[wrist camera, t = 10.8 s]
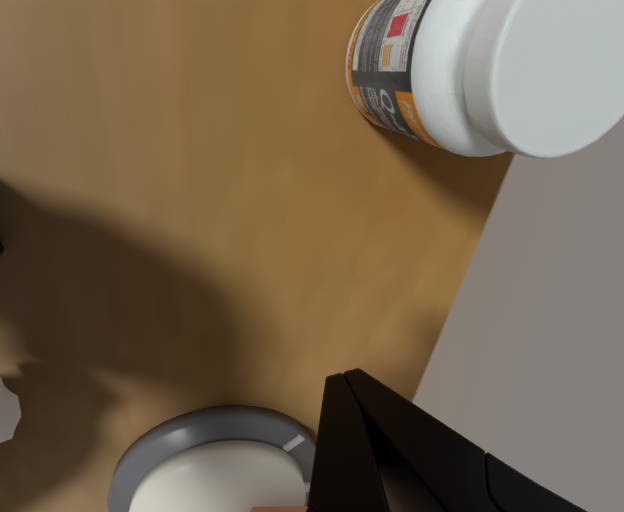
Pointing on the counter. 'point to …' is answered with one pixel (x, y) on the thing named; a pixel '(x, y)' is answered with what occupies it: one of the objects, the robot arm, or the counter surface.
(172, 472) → the dial
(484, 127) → the pill bottle
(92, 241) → the counter surface
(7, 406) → the white bottle
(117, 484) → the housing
